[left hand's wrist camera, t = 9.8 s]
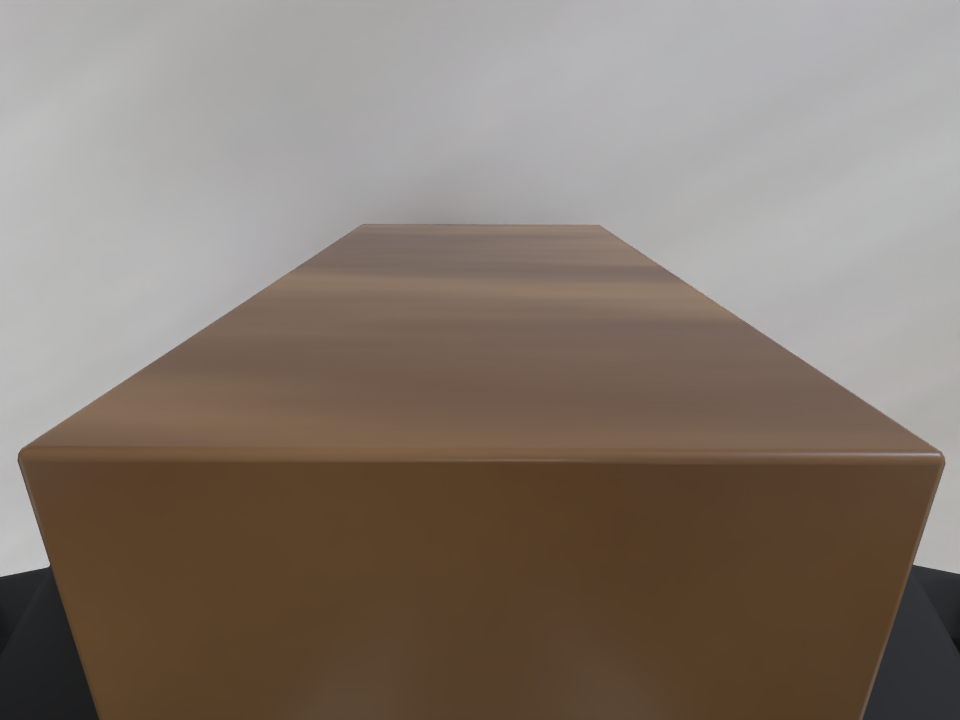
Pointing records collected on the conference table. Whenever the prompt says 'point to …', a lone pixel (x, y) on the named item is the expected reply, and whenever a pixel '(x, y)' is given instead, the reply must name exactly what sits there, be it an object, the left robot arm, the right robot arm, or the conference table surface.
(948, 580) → the left robot arm
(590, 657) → the box
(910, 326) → the conference table surface
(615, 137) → the conference table surface
